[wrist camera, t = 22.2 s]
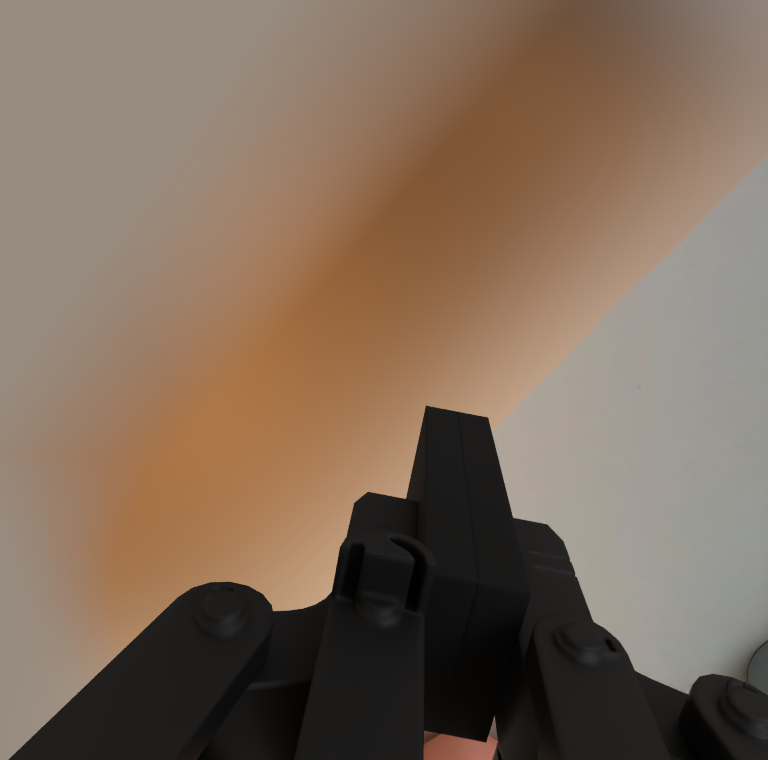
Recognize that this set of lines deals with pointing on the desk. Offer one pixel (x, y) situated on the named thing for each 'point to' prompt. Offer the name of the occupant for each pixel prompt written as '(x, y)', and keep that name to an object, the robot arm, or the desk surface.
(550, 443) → the desk surface
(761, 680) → the grey-blue ceramic planter
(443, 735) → the teapot
